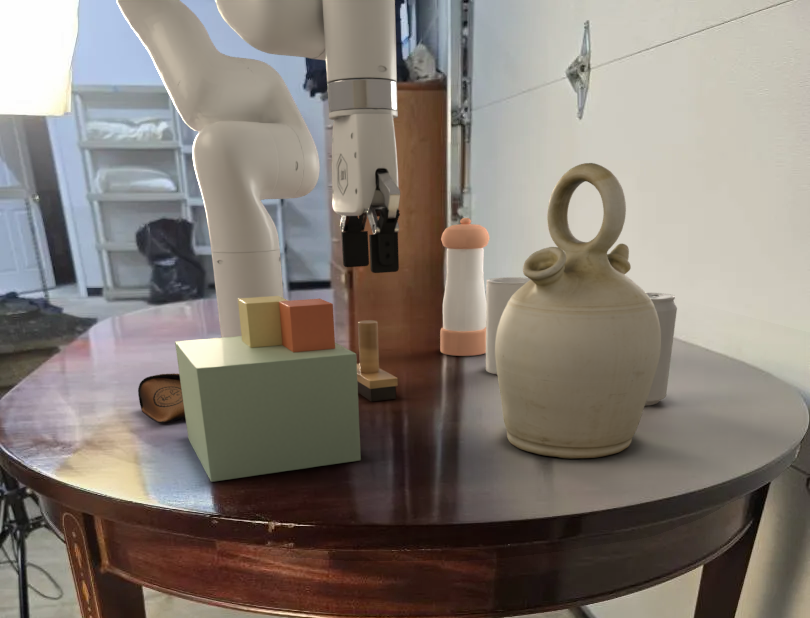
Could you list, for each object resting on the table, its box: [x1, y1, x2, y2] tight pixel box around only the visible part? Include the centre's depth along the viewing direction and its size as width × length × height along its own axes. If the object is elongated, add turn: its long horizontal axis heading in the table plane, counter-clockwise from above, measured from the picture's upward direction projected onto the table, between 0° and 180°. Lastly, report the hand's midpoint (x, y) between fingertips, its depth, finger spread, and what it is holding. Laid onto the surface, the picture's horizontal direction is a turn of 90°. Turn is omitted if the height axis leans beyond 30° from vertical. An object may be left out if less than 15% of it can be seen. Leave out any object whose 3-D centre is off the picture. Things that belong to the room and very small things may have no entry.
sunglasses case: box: [137, 373, 186, 423], centre depth 92 cm, size 18×7×7 cm
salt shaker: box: [439, 217, 491, 357], centre depth 116 cm, size 7×7×19 cm
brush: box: [357, 319, 399, 402], centre depth 95 cm, size 10×4×9 cm, turn 22°
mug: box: [485, 276, 531, 375], centre depth 105 cm, size 10×7×12 cm, turn 119°
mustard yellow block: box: [238, 296, 289, 348], centre depth 73 cm, size 4×4×4 cm
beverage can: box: [644, 292, 678, 407], centre depth 89 cm, size 6×6×12 cm
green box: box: [174, 336, 362, 483], centre depth 75 cm, size 16×14×10 cm
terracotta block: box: [279, 298, 336, 352], centre depth 71 cm, size 4×4×4 cm
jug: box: [495, 162, 661, 460], centre depth 72 cm, size 15×16×25 cm
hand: (369, 269), depth 91 cm, fingers open, 9 cm apart
